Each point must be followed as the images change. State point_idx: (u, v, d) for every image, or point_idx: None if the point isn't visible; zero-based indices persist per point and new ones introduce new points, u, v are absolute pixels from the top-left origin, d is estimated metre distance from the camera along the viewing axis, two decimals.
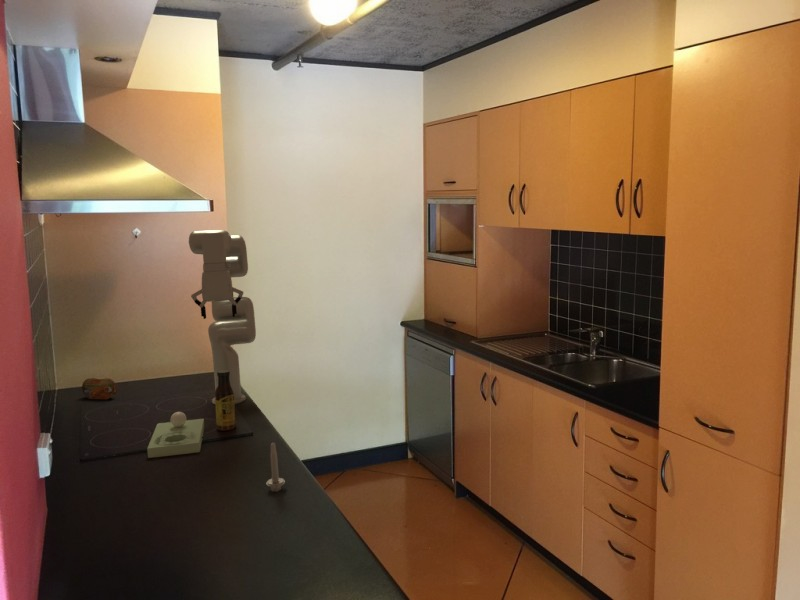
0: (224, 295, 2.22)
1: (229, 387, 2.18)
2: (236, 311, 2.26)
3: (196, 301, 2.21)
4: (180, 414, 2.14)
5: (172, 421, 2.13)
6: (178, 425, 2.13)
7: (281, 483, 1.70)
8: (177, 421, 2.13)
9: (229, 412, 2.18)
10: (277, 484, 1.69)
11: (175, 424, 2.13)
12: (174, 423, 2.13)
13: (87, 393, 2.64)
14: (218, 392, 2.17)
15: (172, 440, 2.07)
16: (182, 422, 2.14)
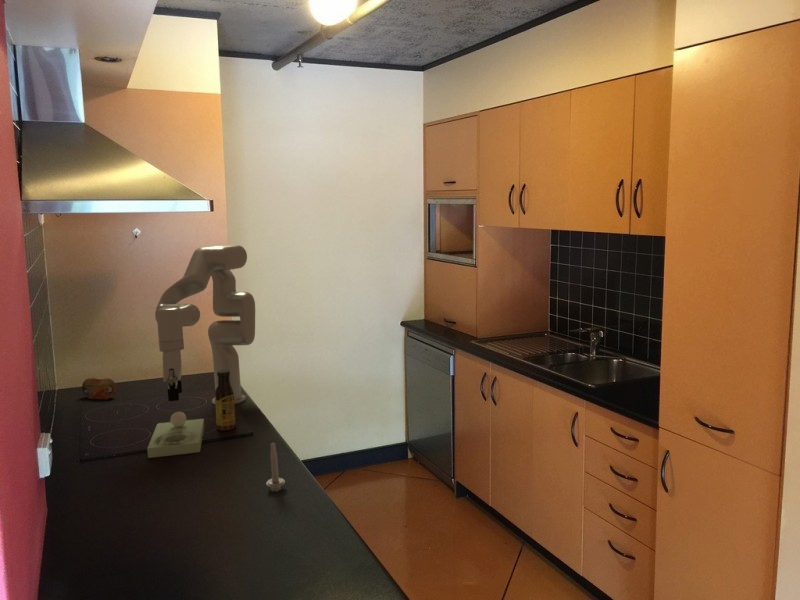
0: (181, 371, 2.15)
1: (229, 387, 2.18)
2: None
3: (174, 383, 2.06)
4: (180, 414, 2.14)
5: (172, 421, 2.13)
6: (178, 425, 2.13)
7: (281, 483, 1.70)
8: (177, 421, 2.13)
9: (229, 412, 2.18)
10: (277, 484, 1.69)
11: (175, 424, 2.13)
12: (174, 423, 2.13)
13: (87, 393, 2.64)
14: (218, 392, 2.17)
15: (172, 440, 2.07)
16: (182, 422, 2.14)
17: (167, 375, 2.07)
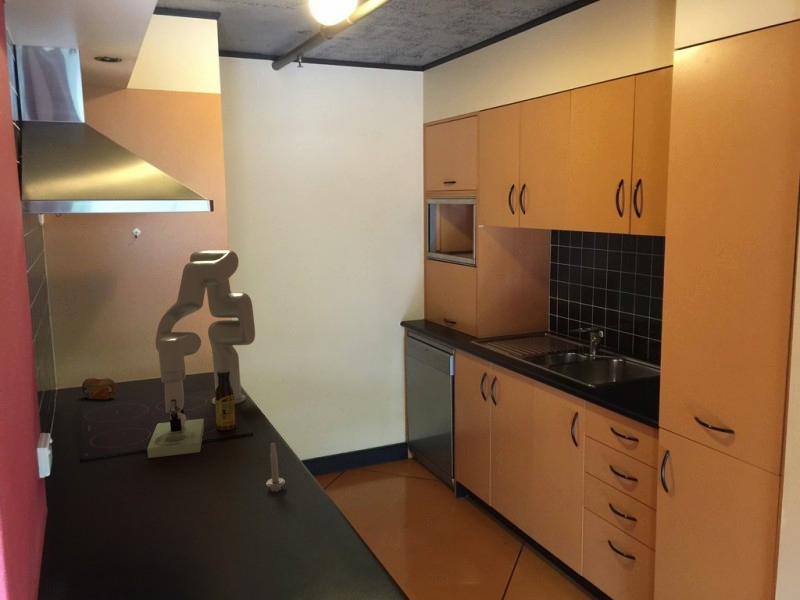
0: (183, 400, 2.14)
1: (229, 387, 2.18)
2: None
3: (176, 414, 2.05)
4: (180, 417, 2.13)
5: None
6: None
7: (281, 483, 1.70)
8: None
9: (229, 412, 2.18)
10: (277, 484, 1.69)
11: None
12: None
13: (87, 393, 2.64)
14: (218, 392, 2.17)
15: (172, 440, 2.07)
16: (182, 424, 2.13)
17: (169, 406, 2.06)
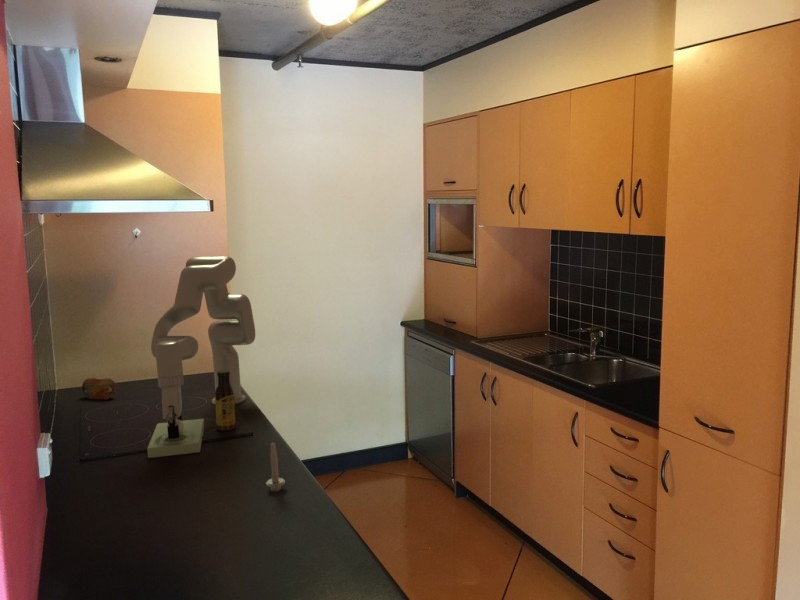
0: (181, 406, 2.07)
1: (229, 387, 2.18)
2: None
3: (174, 420, 1.98)
4: None
5: None
6: None
7: (281, 483, 1.70)
8: None
9: (229, 412, 2.18)
10: (277, 484, 1.69)
11: None
12: None
13: (87, 393, 2.64)
14: (218, 392, 2.17)
15: (172, 440, 2.07)
16: None
17: (167, 412, 1.99)
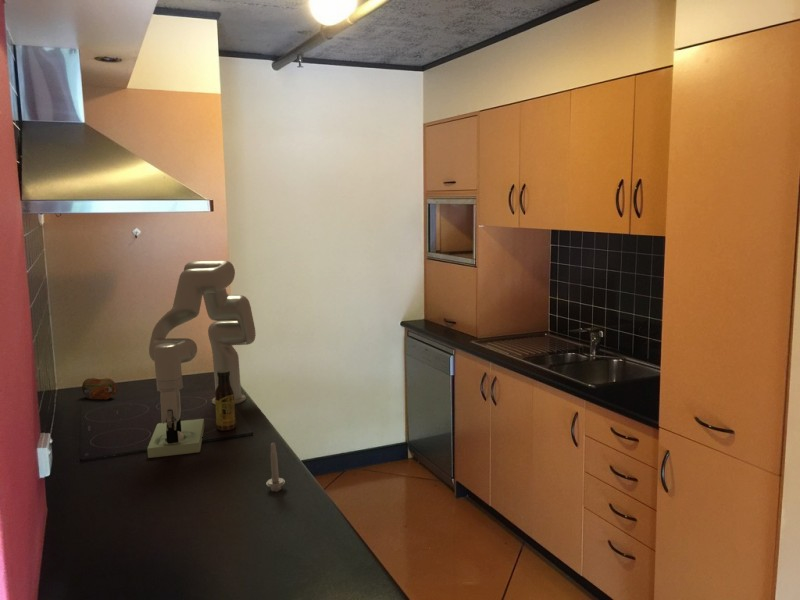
0: (180, 410, 2.04)
1: (229, 387, 2.18)
2: None
3: (173, 425, 1.95)
4: None
5: None
6: None
7: (281, 483, 1.70)
8: None
9: (229, 412, 2.18)
10: (277, 484, 1.69)
11: None
12: None
13: (87, 393, 2.64)
14: (218, 392, 2.17)
15: None
16: (179, 432, 2.05)
17: (165, 416, 1.96)
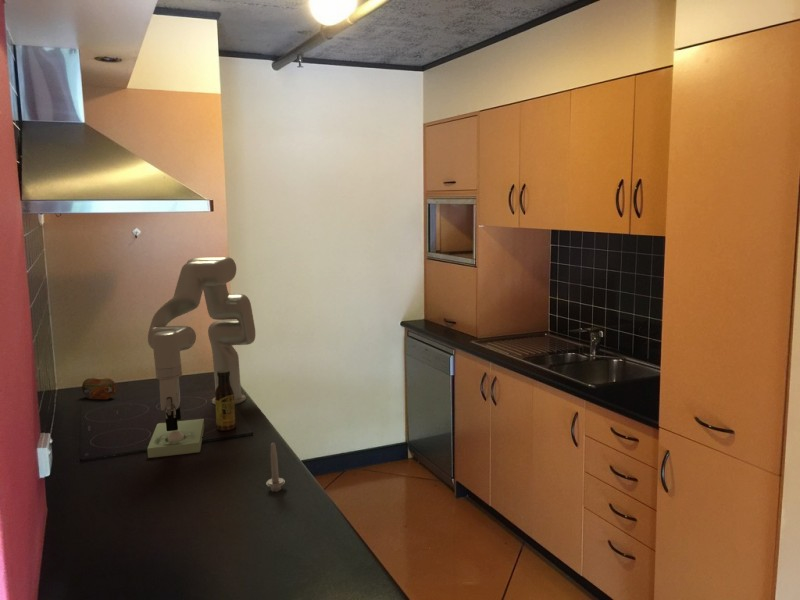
0: None
1: (229, 387, 2.18)
2: None
3: (172, 412, 1.95)
4: None
5: (170, 433, 2.05)
6: (175, 432, 2.04)
7: (281, 483, 1.70)
8: None
9: (229, 412, 2.18)
10: (277, 484, 1.69)
11: (172, 432, 2.04)
12: (171, 432, 2.04)
13: (87, 393, 2.64)
14: (218, 392, 2.17)
15: None
16: (180, 432, 2.05)
17: (165, 404, 1.96)
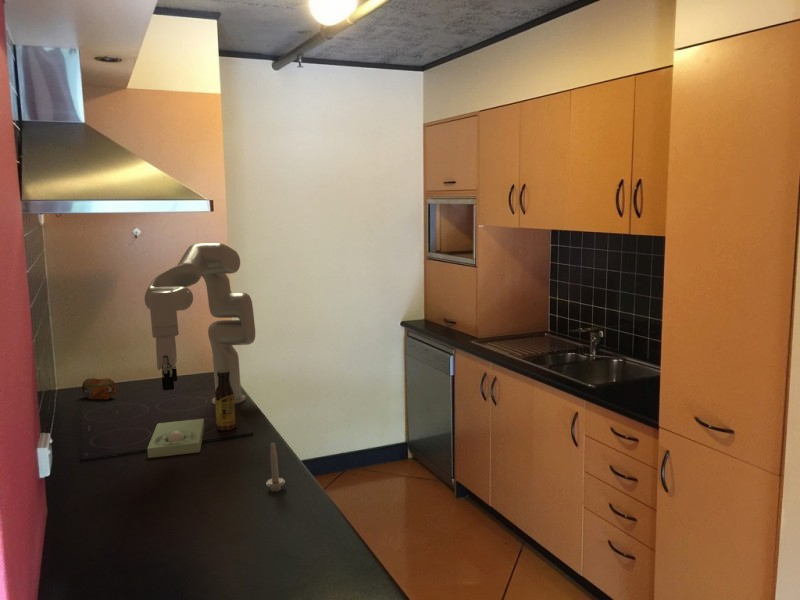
0: (176, 358, 2.02)
1: (229, 387, 2.18)
2: None
3: (169, 371, 1.93)
4: None
5: None
6: (175, 432, 2.04)
7: (281, 483, 1.70)
8: None
9: (229, 412, 2.18)
10: (277, 484, 1.69)
11: (173, 432, 2.04)
12: (172, 432, 2.04)
13: (87, 393, 2.64)
14: (218, 392, 2.17)
15: None
16: (180, 432, 2.05)
17: (161, 363, 1.94)
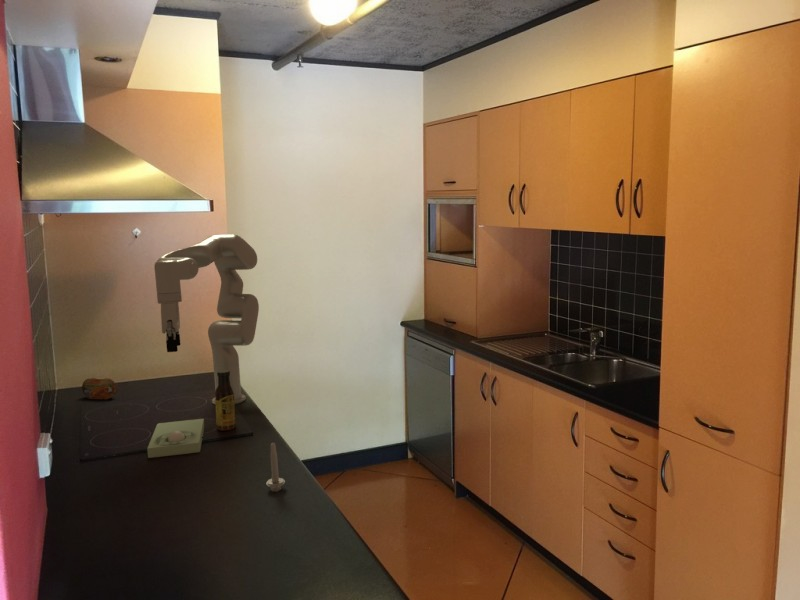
0: (179, 324, 2.18)
1: (229, 387, 2.18)
2: None
3: (172, 334, 2.09)
4: None
5: (171, 433, 2.05)
6: (176, 432, 2.04)
7: (281, 483, 1.70)
8: None
9: (229, 412, 2.18)
10: (277, 484, 1.69)
11: (173, 432, 2.04)
12: (173, 432, 2.04)
13: (87, 394, 2.64)
14: (218, 392, 2.17)
15: None
16: (181, 432, 2.05)
17: (165, 326, 2.10)
